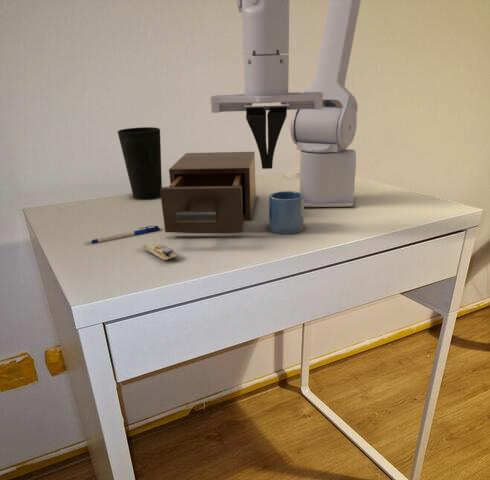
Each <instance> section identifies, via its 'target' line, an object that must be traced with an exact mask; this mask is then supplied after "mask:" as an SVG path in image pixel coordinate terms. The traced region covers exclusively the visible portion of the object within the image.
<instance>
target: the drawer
mask: <svg viewBox="0 0 490 480" xmlns="http://www.w3.org/2000/svg"><path fill="white" fill-rule="evenodd" d="M160 193H161V196H160V200H161V208H162V218H163V226H164V233H243V232H244V220H243V209H244V205H245V201H244V173H231V174H180V175H179V176H178V177H177V178H176V179H175V180H174V181H173V182H172V184H169V186H162V188H161V189H160Z"/></svg>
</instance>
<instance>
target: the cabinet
mask: <svg viewBox="0 0 490 480" xmlns="http://www.w3.org/2000/svg"><path fill="white" fill-rule="evenodd" d="M168 172H169V182H170V184H169V185H171V184H172V182H173V181H174V180H175V179H176V178H177V177H178V176H179V175H180V174H231V173H244V201H245V205H244V209H243V221H244V220H248V221H249V220H251V219H252V216H253V211H254V206H255V201H256V197H257V194H256V193H257V190H256V189H257V188H256V151H222V152H221V151H219V152H217V151H215V152H214V151H213V152H186V153H184V154H183V156H181V157H180V158H179V159H178V160H177V161H176V162H174V164H173V165H172V166H171V167H170V168H168Z"/></svg>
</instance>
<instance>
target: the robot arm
mask: <svg viewBox="0 0 490 480" xmlns="http://www.w3.org/2000/svg"><path fill="white" fill-rule="evenodd" d="M361 2H362V0H328V2H327V8H326V13H325V18H324V24H323V31H322V35H321V42H320V48H319V53H318V57H317V64H316V70H315V76H314V81H313V82H312V83H311V84H310V85H309V86H308V87H307V88H306V89H305V90H303V91H302V92H301V91H300V92H293V91H292V92H289V77H290V75H289V74H290V73H289V70H290V68H289V67H290V66H289V65H290V62H289V61H290V55H289V54H290V0H236V6H237V7H238V12H239V13H240V14H241V21H242V23H241V24H242V26H241V27H242V49H243V50H242V53H243V80H244V81H243V83H244V84H243V85H244V93H238V94H237V93H236V94H222V95H219V94H218V95H211V96H210V108H211V109H210V110H211V114H214V113H215V114H216V113H218V114H219V113H225V112H227V113H228V112H230V113H231V112H232V113H233V112H245V113H246V114H245V119H246V122H247V124H248V126H249V129H250V131H251V133H252V135H253V138H254V141H255V143H256V146H257V149H258V153H259V157H260V158H259V159H260V163H261V169H263V170H271V169H273V163H274V155H275V150H276V146H277V143H278V140H279V137H280V134H281V131H282V129H283V126H284V124H285V121H286V119H287V116H288V115H287V113H288V111H292V110H293V113H292V115H291V118H290V122H289V133H290V138H291V140H292V143H293V144H294V145H296V150H298V151H300V155H299V156H300V157H299V158H300V161H299V193H302V194H304V208H339V207H341V208H345V207H351V208H352V207H353V206H354V195H355V194H354V193H355V182H356V168H357V154H356V150H355V149H349V147H350V145H351V144H352V143H353V141H354V139H355V137H356V132H357V125H358V123H357V121H358V120H357V117H358V115H357V114H358V109H359V108H358V107H359V105H358V101H357V99H356V97H355V96H354V94H353V93H352V92H351V91H350V90H348V89H347V87H345V85H346V80H347V76H348V71H349V70H348V69H349V64H350V58H351V53H352V48H353V43H354V37H355V34H356V33H355V32H356V27H357V22H358V18H359V11H360V6H361ZM274 103H275V104H276V103H280V105H253V104H274Z"/></svg>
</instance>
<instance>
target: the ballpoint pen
mask: <svg viewBox="0 0 490 480" xmlns="http://www.w3.org/2000/svg"><path fill="white" fill-rule="evenodd" d="M160 229H161V228H160V227H159V225H149V226H143V227H139V228H138V230H133V231H129V232H123V233H119V234H114V235H109V236H104V237H97V238H95V239H93V240H91V244H97V243H103V242H107V241H113V240H118V239H123V238H127V237H133V236H140V235H145V234H149V233H154V232H158V231H160Z"/></svg>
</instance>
